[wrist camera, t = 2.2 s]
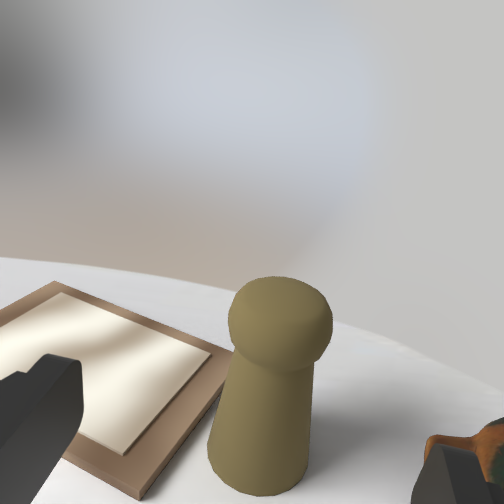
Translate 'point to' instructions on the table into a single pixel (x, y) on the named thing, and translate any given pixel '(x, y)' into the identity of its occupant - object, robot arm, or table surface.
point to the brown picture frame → (117, 379)
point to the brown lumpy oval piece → (480, 449)
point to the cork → (269, 385)
